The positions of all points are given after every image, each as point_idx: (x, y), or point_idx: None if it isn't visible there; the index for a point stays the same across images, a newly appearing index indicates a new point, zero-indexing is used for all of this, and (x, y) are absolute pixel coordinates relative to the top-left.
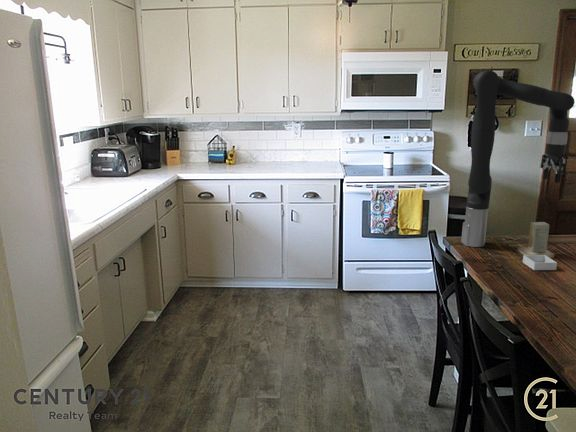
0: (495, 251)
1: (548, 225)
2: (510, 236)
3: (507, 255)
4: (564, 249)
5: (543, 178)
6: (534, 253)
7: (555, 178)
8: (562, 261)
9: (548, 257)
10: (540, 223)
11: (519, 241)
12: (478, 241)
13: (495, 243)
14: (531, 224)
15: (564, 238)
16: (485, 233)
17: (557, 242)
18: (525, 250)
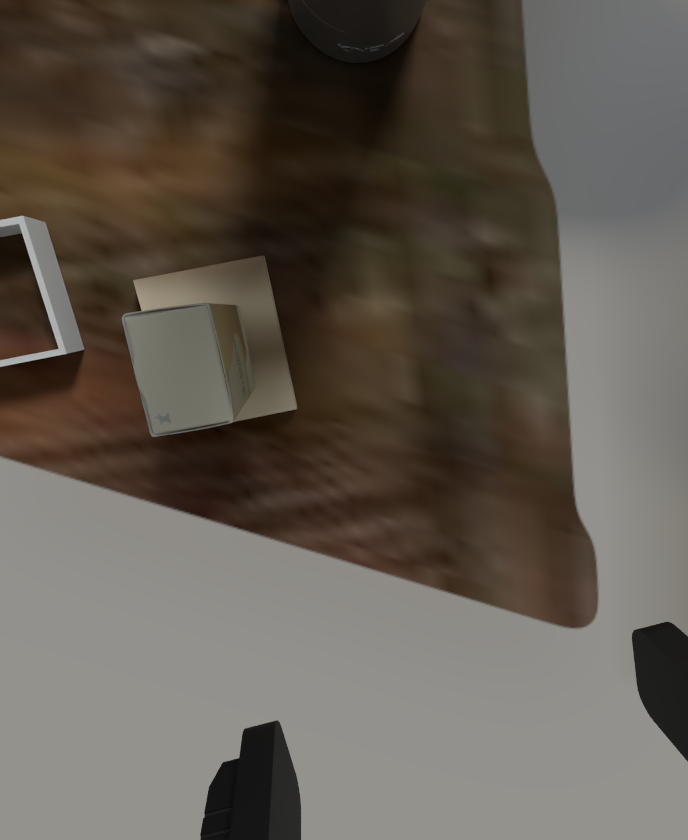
0: (223, 106)
1: (151, 427)
2: (551, 298)
3: (157, 164)
4: (337, 526)
5: (637, 631)
6: None
7: (234, 799)
8: (122, 452)
9: (22, 360)
10: (169, 372)
11: (453, 324)
12: None
13: (393, 155)
14: (186, 305)
15: (534, 586)
16: (330, 8)
17: (458, 529)
18: (209, 285)
